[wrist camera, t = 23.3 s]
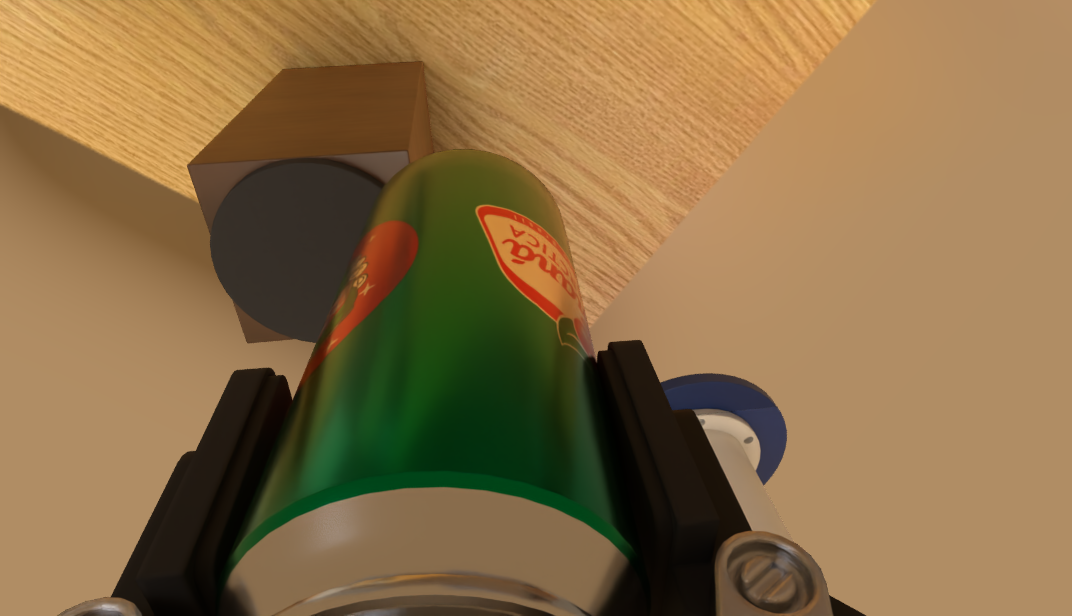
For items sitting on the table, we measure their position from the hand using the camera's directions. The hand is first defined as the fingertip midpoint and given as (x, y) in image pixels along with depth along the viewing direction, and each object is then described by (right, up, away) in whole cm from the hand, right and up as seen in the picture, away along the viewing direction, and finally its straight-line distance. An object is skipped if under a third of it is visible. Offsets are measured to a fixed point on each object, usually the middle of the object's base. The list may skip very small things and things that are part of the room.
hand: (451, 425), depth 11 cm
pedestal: (-9, +13, +28) cm, 32 cm away
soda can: (0, +4, +6) cm, 7 cm away
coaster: (-7, +4, +14) cm, 17 cm away
